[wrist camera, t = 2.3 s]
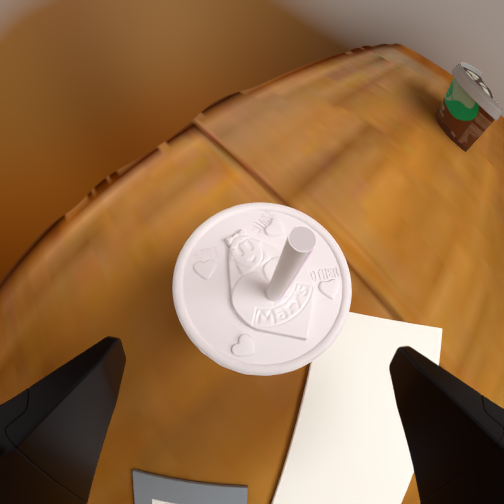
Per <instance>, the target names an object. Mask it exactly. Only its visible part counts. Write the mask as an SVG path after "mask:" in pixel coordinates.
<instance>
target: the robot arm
mask: <svg viewBox="0 0 504 504" xmlns="http://www.w3.org/2000/svg"><path fill="white" fill-rule="evenodd" d="M125 363H126V356H125V353H124V349H123V346H122V342H121V340H120V339H119V338H117V337H111V336H108V337H106V338H104V339H103V340H101V341H99V342H98V343H96V344H95V345H93V346H92V347H90V348H89V349H87V350H86V351H84V352H83V353H81V354H79V355H78V356H76V357H75V358H73V359H72V360H70V361H69V362H67V363H66V364H64V365H63V366H61V367H60V368H58V369H57V370H55V371H54V372H52V373H50V374H49V375H47V376H46V377H44V378H43V379H41V380H40V381H38V382H37V383H35V384H34V385H32V386H31V387H30V389H29V388H28V389H26V390H25V391H23V392H22V393H20V394H18V395H17V396H15V397H14V398H12V399H10V400H9V401H7V402H5V403H3V404H1V405H0V504H87V502H88V498H89V494H90V489H91V485H92V481H93V478H94V474H95V470H96V466H97V463H98V459H99V456H100V452H101V449H102V446H103V442H104V439H105V436H106V433H107V429H108V426H109V423H110V420H111V417H112V414H113V411H114V408H115V405H116V402H117V398H118V393H119V389H120V384H121V380H122V376H123V372H124V367H125ZM389 371H390V376H391V380H392V385H393V390H394V395H395V400H396V405H397V409H398V412H399V416H400V419H401V423H402V426H403V430H404V433H405V437H406V441H407V444H408V448H409V452H410V456H411V460H412V464H413V469H414V473H415V478H416V482H417V487H418V492H419V497H420V501H421V502H420V504H504V409H503V408H501V407H500V406H498V405H496V404H495V403H493V402H492V401H490V400H489V399H487V398H486V397H484V396H483V395H481V394H480V393H479V392H477V391H476V390H474V389H473V388H471V387H470V386H468V385H467V384H465V383H464V382H462V381H461V380H459V379H458V378H456V377H455V376H453V375H452V374H450V373H449V372H448V371H446V370H445V369H443V368H442V367H440V366H439V365H437V364H436V363H434V362H433V361H431V360H430V359H428V358H427V357H425V356H424V355H422V354H421V353H419V352H418V351H416V350H415V349H413V348H412V347H410V346H401V347H399V348H398V349H397V350H396V352H395V354H394V356H393V358H392V360H391V362H390V366H389Z"/></svg>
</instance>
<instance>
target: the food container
mask: <svg viewBox="0 0 504 504" xmlns="http://www.w3.org/2000/svg"><path fill="white" fill-rule="evenodd" d="M452 75H453V76H454V78H453V80H452V83H451V85H450V87H449V89H448V91H447V93H446V95H445V98H444V100H443V102H442V104H441V106H440V108H439V110H438V112H437V114H436V117H437V120H438V123H439V124H440V126H441V127H442V129H443V130H444V132H445V133H446V134H447V135H448V136H449V137H450V138H451V139H452V140H453V142H455V143H456V144H457V145H458V146H459V147H460V148H461V149H463V150H464V151H465V152H466V151H467V150H468V149H469V148H470V147H471V145H472V144H473V143H474V142H475V141H476V140H477V139H478V138H479V137H480V136H481V135H482V133H483V132H484V131H485V130H486V129H487V128H488V127H489V126H490V124H491V123H492V122H493V121H494V120H496V121H497V120H498V118H499V117H500V115H501V111H502V110H503V108H502V107H501V106H500V105H499V104H498V103H496V101H495V100H493V97H492V94H491V91H490V90H489V88H488V87H487V86H486V85H485V84H484V82H483V81H482V79H481V77H482V75H483V73H481V72H480V71H479V70H477V69H476V68H474V67H473V66H471V65H469V64H466V63H464V62H462V63H460V64H458V65H457V66H456V67H455V68H454V69H453V70H452Z"/></svg>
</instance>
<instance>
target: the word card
mask: <svg viewBox="0 0 504 504" xmlns="http://www.w3.org/2000/svg"><path fill="white" fill-rule="evenodd" d="M133 487H134V500H135V504H247V493H248V486H241V485H225V484H213V483H204V482H196V481H189V480H183V479H177V478H171V477H166V476H161V475H156V474H152V473H147V472H143V471H139V470H135V469H134V470H133Z"/></svg>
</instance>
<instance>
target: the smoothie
mask: <svg viewBox="0 0 504 504" xmlns="http://www.w3.org/2000/svg"><path fill="white" fill-rule="evenodd" d="M351 291H352V290H351V278H350V273H349V269H348V265H347V262H346V260H345V257H344V255H343V253H342V251H341V249H340V247H339V246H338V244H337V243H336V241H335V240H334V238H333V237H332V236H331V235H330V234H329V232H328V231H327V230H326V229H325V228H324V227H323V226H321V225H320V224H319V223H318V222H316V221H315V220H314V219H312V218H311V217H309V216H307V215H306V214H304V213H302V212H300V211H298V210H295V209H293V208H290V207H287V206H283V205H279V204H273V203H247V204H242V205H238V206H234V207H231V208H228V209H225V210H223V211H221V212H219V213H217V214H215V215H214V216H212V217H210V218H209V219H208V220H206V221H205V222H203V223H202V224H201V225H200V226H199V227H198V228H197V229H196V230H195V231H194V232H193V233H192V234H191V236H190V237H189V238H188V240H187V241H186V243H185V244H184V246H183V248H182V250H181V252H180V254H179V256H178V259H177V262H176V266H175V269H174V275H173V299H174V305H175V309H176V313H177V315H178V318H179V321H180V323H181V325H182V327H183V329H184V331H185V332H186V334H187V335H188V337H189V338H190V339H191V341H192V342H193V343H194V344H195V345H196V346H197V347H198V349H199V350H200V351H201V352H202V353H203V354H205V355H206V356H207V357H209V358H210V359H212V360H213V361H214V362H216V363H217V364H219V365H220V366H222V367H225V368H228V369H230V370H233V371H236V372H239V373H242V374H247V375H262V376H270V375H276V374H282V373H286V372H290V371H293V370H296V369H298V368H301V367H303V366H305V365H307V364H309V363H310V362H312V361H313V360H315V359H316V358H318V357H319V356H320V355H321V354H323V353H324V352H325V351H326V350H327V349H328V348H329V347H330V346H331V345H332V343H333V342H334V341H335V340H336V338H337V337H338V335H339V333H340V332H341V330H342V328H343V326H344V324H345V321H346V319H347V316H348V312H349V309H350V303H351Z"/></svg>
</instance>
